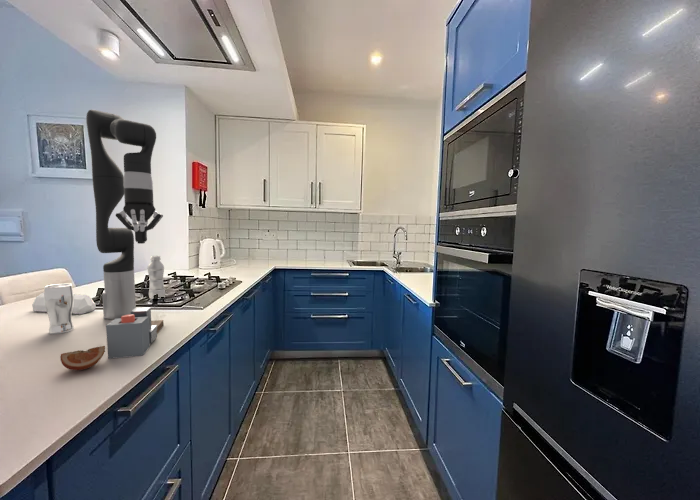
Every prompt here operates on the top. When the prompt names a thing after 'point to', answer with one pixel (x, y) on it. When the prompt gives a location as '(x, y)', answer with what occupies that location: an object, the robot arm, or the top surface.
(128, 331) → the cabinet
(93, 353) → the fruit slice
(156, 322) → the rail
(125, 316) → the button
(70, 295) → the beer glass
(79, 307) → the crystal
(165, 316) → the top surface
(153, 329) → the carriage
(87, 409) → the top surface
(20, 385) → the top surface
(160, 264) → the plastic bottle
